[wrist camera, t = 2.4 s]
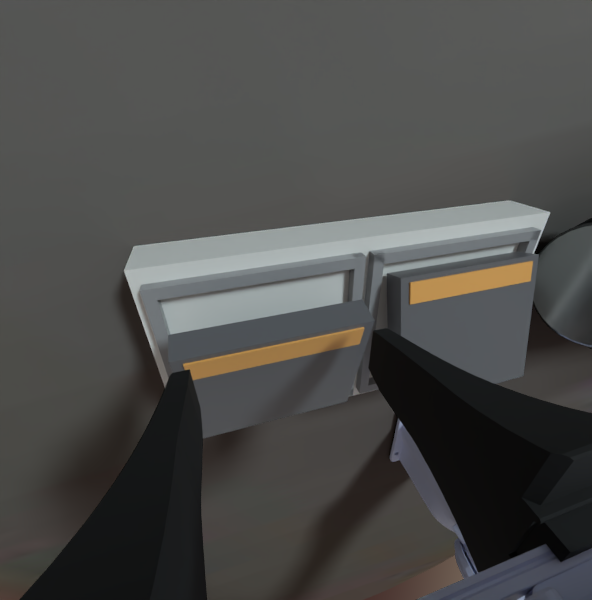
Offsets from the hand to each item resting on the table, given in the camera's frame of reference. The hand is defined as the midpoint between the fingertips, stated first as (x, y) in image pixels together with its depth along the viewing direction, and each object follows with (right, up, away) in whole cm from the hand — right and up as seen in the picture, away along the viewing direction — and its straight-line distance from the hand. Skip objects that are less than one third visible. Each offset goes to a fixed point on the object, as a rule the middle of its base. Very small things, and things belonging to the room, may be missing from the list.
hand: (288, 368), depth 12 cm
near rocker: (-1, -1, +5) cm, 5 cm away
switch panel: (+4, +2, +10) cm, 11 cm away
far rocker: (+10, +1, +7) cm, 13 cm away
